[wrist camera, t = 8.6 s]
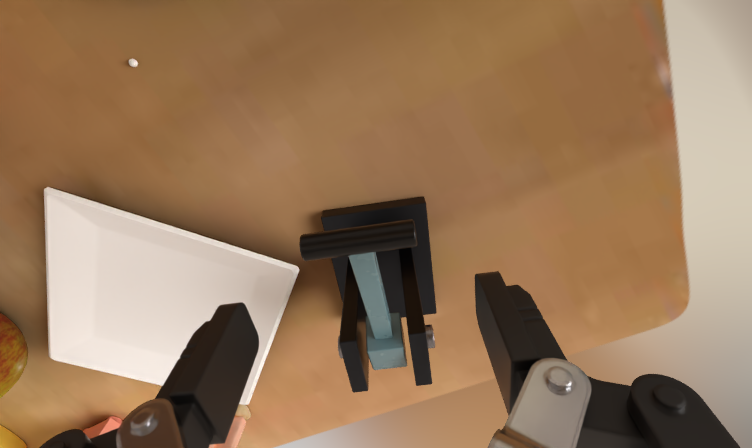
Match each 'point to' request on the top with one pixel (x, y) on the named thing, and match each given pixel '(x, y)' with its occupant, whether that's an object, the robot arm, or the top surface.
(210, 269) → the plate
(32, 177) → the top surface
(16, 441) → the teapot
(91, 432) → the pink blocky piece
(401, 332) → the switch lever
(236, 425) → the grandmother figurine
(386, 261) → the switch bracket
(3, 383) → the fruit
